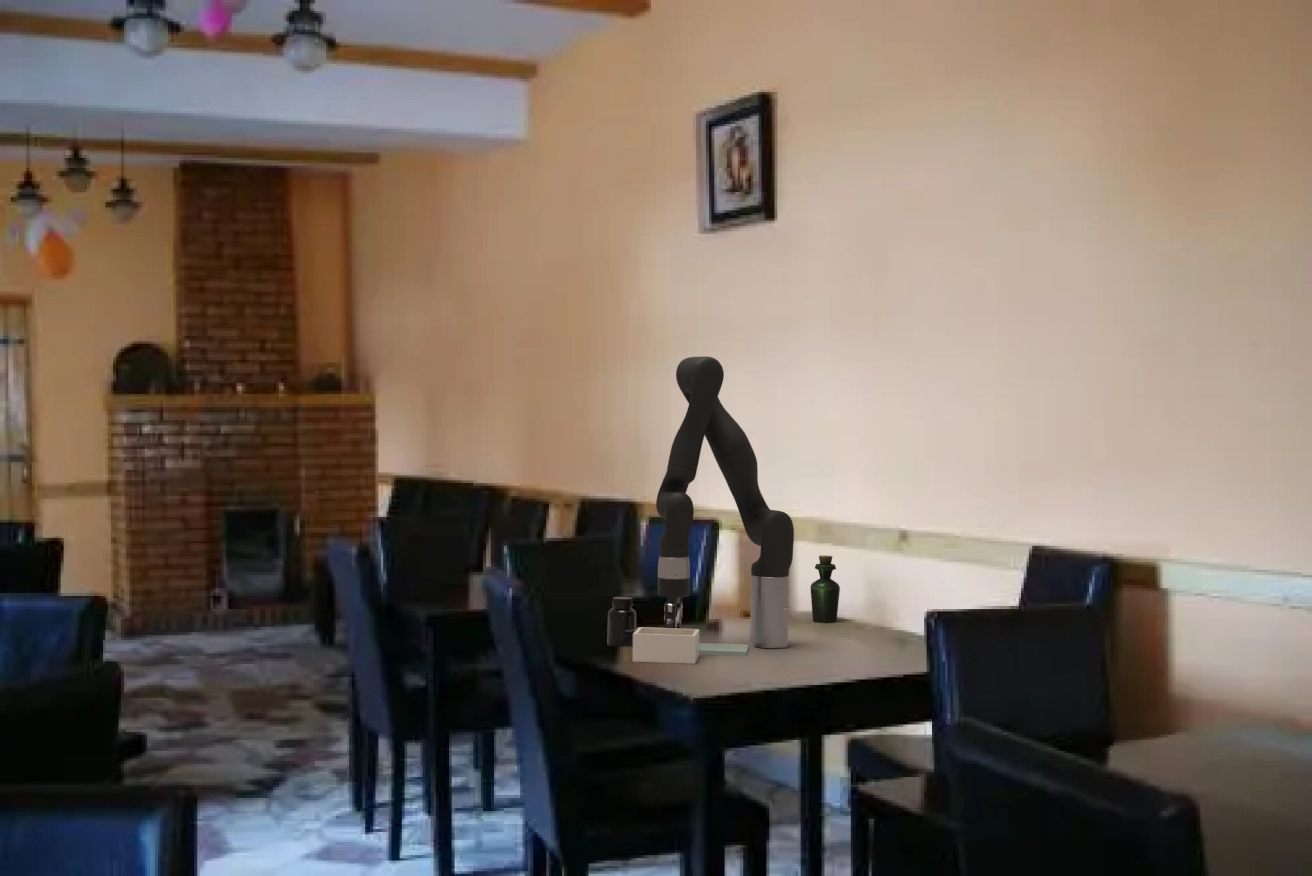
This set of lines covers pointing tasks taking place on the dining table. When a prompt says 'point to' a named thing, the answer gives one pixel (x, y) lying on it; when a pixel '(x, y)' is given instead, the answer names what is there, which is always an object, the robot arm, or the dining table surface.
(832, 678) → the dining table surface
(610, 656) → the dining table surface
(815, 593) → the potion bottle
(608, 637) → the supplement bottle
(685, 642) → the tub
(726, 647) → the lid
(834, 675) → the dining table surface
